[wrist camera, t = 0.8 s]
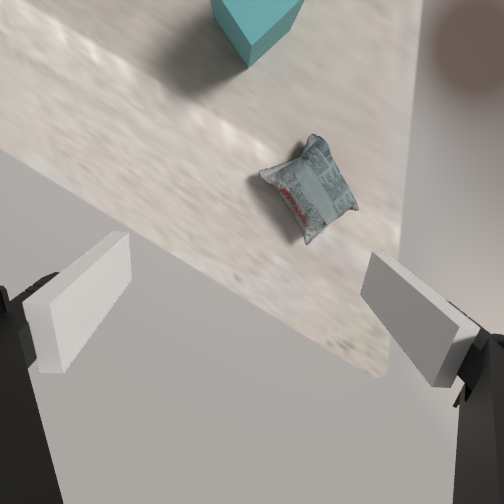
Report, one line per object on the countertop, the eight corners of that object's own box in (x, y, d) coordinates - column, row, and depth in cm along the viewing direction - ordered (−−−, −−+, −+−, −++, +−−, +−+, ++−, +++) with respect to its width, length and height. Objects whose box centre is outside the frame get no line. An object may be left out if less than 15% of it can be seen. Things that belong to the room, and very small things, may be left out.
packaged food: (301, 238, 42) (310, 250, 37) (257, 170, 38) (260, 174, 33) (353, 204, 40) (369, 213, 36) (312, 130, 36) (324, 128, 32)
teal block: (214, 18, 31) (205, -25, 23) (257, -25, 30) (264, -87, 22) (248, 68, 33) (251, 45, 25) (289, 30, 32) (307, -8, 24)
